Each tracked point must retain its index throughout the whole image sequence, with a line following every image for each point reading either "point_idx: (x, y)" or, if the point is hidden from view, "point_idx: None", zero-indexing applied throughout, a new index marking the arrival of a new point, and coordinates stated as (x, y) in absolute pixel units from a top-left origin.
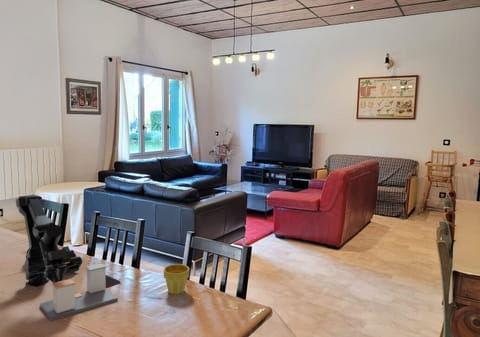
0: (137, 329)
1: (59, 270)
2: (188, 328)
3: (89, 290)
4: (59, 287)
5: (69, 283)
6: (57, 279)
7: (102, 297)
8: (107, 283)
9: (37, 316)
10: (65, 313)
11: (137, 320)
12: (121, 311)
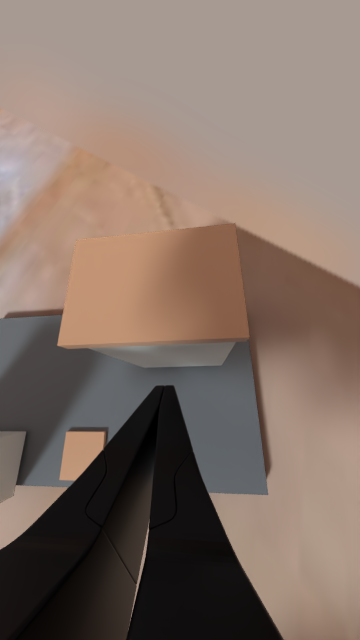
0: (72, 156)
1: (54, 593)
2: (2, 124)
3: (14, 451)
4: (206, 233)
5: (117, 246)
6: (164, 447)
7: (19, 357)
8: None
9: (286, 378)
10: None
11: (45, 188)
12: (40, 248)
